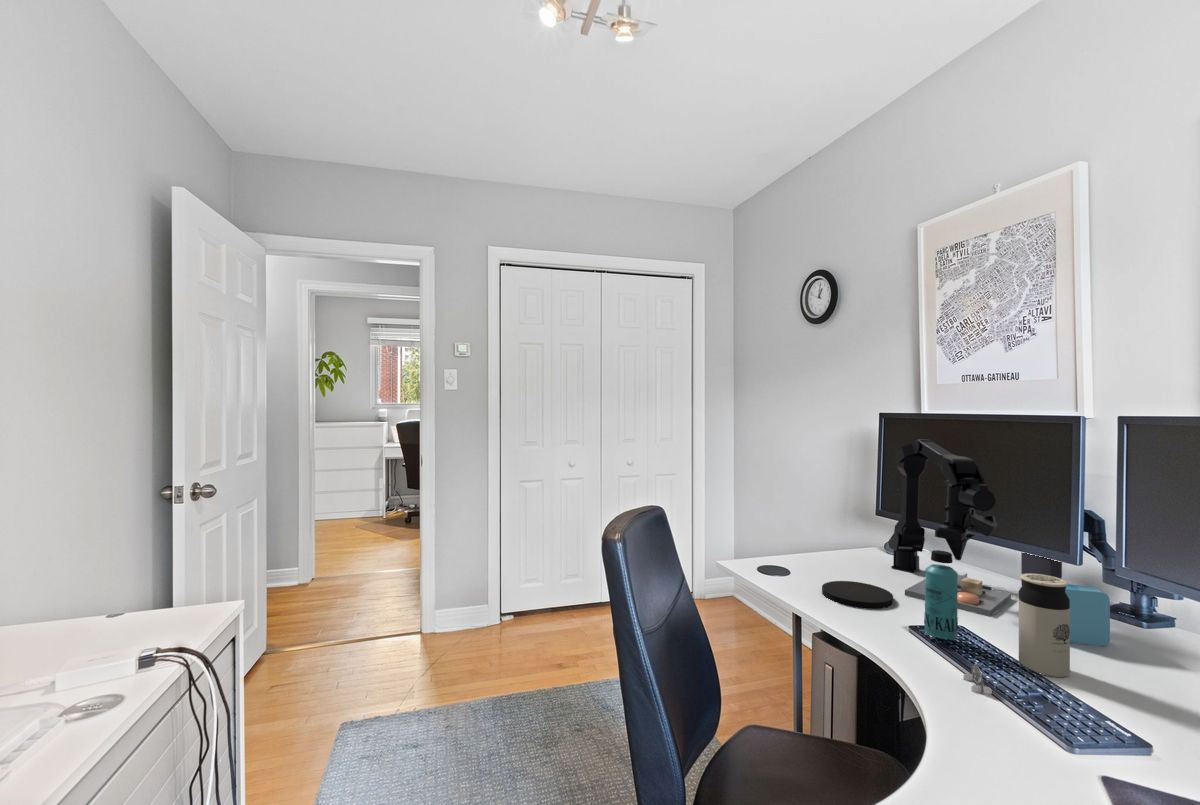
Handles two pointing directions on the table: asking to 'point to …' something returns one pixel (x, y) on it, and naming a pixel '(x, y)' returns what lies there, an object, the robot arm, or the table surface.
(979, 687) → the grey lobed figure
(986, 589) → the grey railed board
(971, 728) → the table surface
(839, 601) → the wireless charger
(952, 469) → the robot arm
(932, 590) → the beverage bottle
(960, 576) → the white cube
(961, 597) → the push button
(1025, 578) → the travel mug
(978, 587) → the beech slider
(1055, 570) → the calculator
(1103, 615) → the data package
